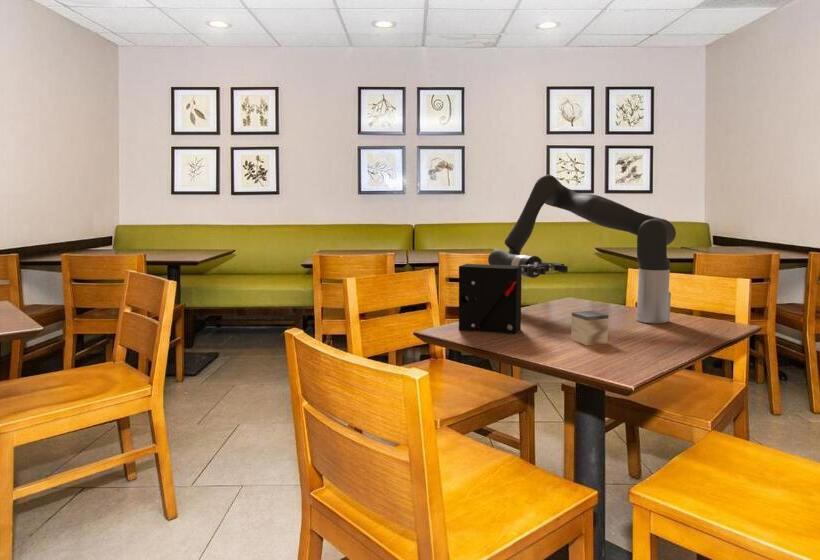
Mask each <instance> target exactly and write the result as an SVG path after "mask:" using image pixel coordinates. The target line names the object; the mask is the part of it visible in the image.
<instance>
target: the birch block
mask: <svg viewBox="0 0 820 560" xmlns="http://www.w3.org/2000/svg"><path fill="white" fill-rule="evenodd" d="M570 334H571V335H570V337H571V338H570V340H571V341H574V342H575V343H580V344H582V345H585V346H592V345H593V346H594V345H603V344H608V341H609V340H608V338H609V314H607V313H603V312H599V311H595V310H583V311H582V310H581V311H573V312H571V330H570Z"/></svg>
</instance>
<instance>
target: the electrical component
mask: <svg viewBox="0 0 820 560" xmlns="http://www.w3.org/2000/svg"><path fill="white" fill-rule="evenodd" d="M522 277H523V276H522V266H511V265H489V264H484V263H483V264H481V263H479V264H476V263H466V264H462V265H459V266H458V331H461V332H464V331H465V332H483V333H493V334H495V333H496V334H506V335H507V334H508V335H517V334H518V333H519V332H520V331H521V330H522V329H521V328H522V326H521V325H522Z"/></svg>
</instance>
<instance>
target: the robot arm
mask: <svg viewBox="0 0 820 560" xmlns="http://www.w3.org/2000/svg"><path fill="white" fill-rule="evenodd" d="M544 205H547V206H550V207H553V208H559V209H561V210H563V211H564V210H565V211H568V212H570V213H572V214H574V215H575V216H578V217H580V218H581V219H585V220H586V221H588V222H590V223H593V224H595V225H598V226H601V227H604V228H608V229H613V230H615V231H621V232H627V233H630V234H632V235H635V236H636V258H637V261H638V283H637V301H636V302H637V305H636V321H638V322H640V323H645V324H666V323H668V322H670V317H671V316H670V315H671V297H672V293H671V292H670V272H671V261H670V259H669V258H668V255H667V254H668V251H667V248H668V247H667V246H668V245H670V244H672V242H674V240H675V238H676V235H677V231H676V228H675V226H674V224H673V223H672V222H670V220H667V219H665V218H660V217H656V216H652V215H648V214H645V213H642V212H639V211H637V210H634V209H632V208H629V207H628V206H626V205H623V204H621V203H619V202H616V201H614V200H611V199H609V198H606V197H605V196H604V197H603V196H602V195H597V194H590V193H579V192H576V191H575V190H572V189H570V188H568V187H566V186H565V185H563V184H562V183H561V182H560V181H559V180H558V179H557V178H556V177H555V176H553V175H552V174H544V175H542V176H540V177H539V178H538V179H537V180H536V182H535V184H534V186H533V187H532V190H531V192H530V194H529V197H528V199H527V200H526V203H525V205H524V208H523V209H522V212H521V213H520V215H519V218H518V219H517V221H516V222H515V224H514V225H513V227H512V229H511V230H510V231H509V233H508V235H507V236H506V237H505V239H504V245H505V246H506V248H508V251H506V250H504V249H494V250H493V251H491V252H490V253H489V255H488V258H487V262H488V265H511V266H522V277H525V278H532V279H535V278H538V277H539V276H541V275H543V276H544V275H546V274H554V273H564V274H567V273H568V267H569V266H568V265H565V263H560V262H559V263H558V262H546V261H543V260H542V259H541V258H540V257H539V256H537V255H530V254H528V255H527V254H521V252H522V250H523V248H524V246H525V245H526V244H527V242H528V240H529V239H530V237H531V235H532V233H533V230H534V228H535V224H536V221H537V218H538V216H539V213H540V211H541V209H542V207H543V206H544Z"/></svg>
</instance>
